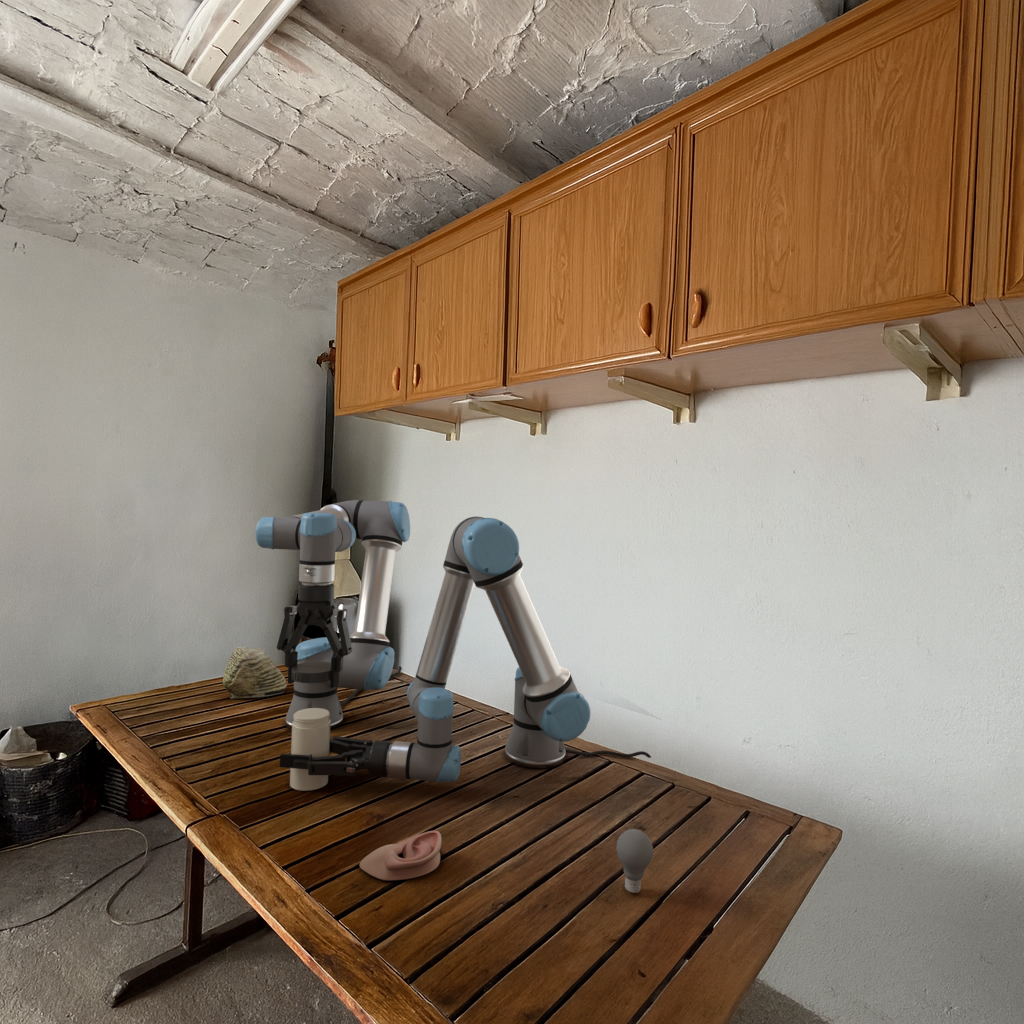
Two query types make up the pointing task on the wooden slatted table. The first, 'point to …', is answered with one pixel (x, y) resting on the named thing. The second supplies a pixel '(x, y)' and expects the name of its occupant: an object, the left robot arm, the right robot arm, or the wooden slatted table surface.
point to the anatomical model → (405, 858)
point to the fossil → (252, 674)
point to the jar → (309, 745)
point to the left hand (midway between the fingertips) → (313, 683)
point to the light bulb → (634, 857)
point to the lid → (311, 672)
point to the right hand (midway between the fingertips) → (289, 752)
